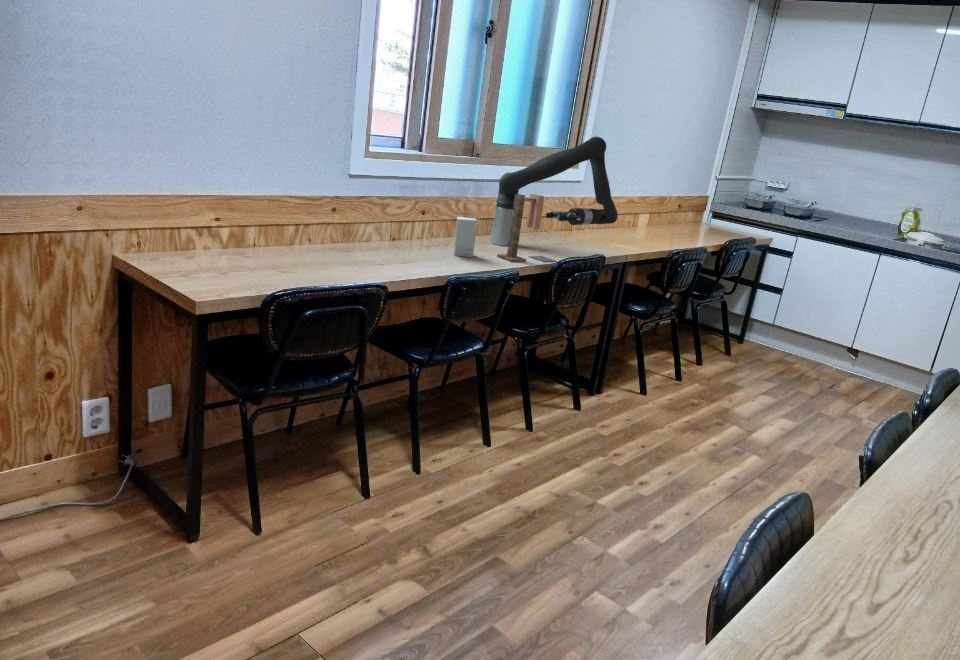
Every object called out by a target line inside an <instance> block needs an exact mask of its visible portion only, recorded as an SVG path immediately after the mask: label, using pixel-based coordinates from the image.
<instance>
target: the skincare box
mask: <svg viewBox="0 0 960 660" xmlns="http://www.w3.org/2000/svg"><path fill="white" fill-rule="evenodd" d="M477 222H478V220H477V218H473V217H472V218H471V217H462V216H457V218H456V226H455V238H454V249H453V255H454V257H455V256H457V257H466V258H467V257H468V258H474V250H475V242H476V233H477Z"/></svg>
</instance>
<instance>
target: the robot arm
mask: <svg viewBox="0 0 960 660" xmlns="http://www.w3.org/2000/svg"><path fill="white" fill-rule="evenodd" d="M606 151H607V143H606V140H604V139H603V138H602V137H600V136H593V137H591V138H589V139H588V140H586V141H585V142H583V143H579V144H578V145H576V146H575V147H574V146H573V147H571V148H568V149H565V150H561V151H558V152H555V153H551V154H550V155H547V156H545V157H542V158H540V159H539V160H537V161H535V162H533V163H532V164H530V165H528V166H526V167H525V168H522V169H519V170H516V171H513V172H506V173H504V174H503V175H502V176H501V177H500V178H499V181H498V193H497V198H496V199H497V200H496V205H495V206H496V207H495V212H494V214H495V215H494V220H493V222H492V227H491V234H490V242H491V244H494V245H498V246H503V247H504V246H507V247H508V243H509V236H510V229H511V221H512V214H513V207H514V200H515V194H519V191H520V189H522V188H524V187H526V186H528V185H531V184H533V183H536V182H539V181H543V180H546V179H549V178H552V177H553V176H557V175H559V174H561V173H563V172H565V171H567V170H569V169H571V168H572V167H574V166H576V165H578V164H580V163H583V162H587V161H589V162H590V167H591V171H592V172H591V174H592V179H593V180H592V181H593V182H592V183H593V188H594V196H595V201H596V203H597V204H598V205H601V206H602V207H603V208H585V207H583V208H582V207H573V208H570V209H569V210H568V211H550V212H546V213H545V218H546V219H557V220H558V222H566V223H569V225H572V226H586V225H608V224H614V223H616V222H617V220H618V210H617V208H616V205H615V203H614V200H613V199H612V193H611V188H610V182H609V178H608V173H607V169H606V162H605V161H606V158H605V154H606V153H605V152H606Z"/></svg>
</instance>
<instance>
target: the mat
mask: <svg viewBox="0 0 960 660" xmlns="http://www.w3.org/2000/svg"><path fill="white" fill-rule="evenodd" d="M527 257H528V258H531V259H532V260H535V261H539V262H542V263H557V262H558V261H557V260H555V259H553V258H550V257H546V256H544V255H529V256H527Z"/></svg>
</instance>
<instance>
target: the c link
mask: <svg viewBox="0 0 960 660" xmlns="http://www.w3.org/2000/svg"><path fill="white" fill-rule="evenodd" d="M529 198H533V199H536V202H529V203H528V209H527V214H526V215H527V216H526V224H525V227H526V228H531V229H532V230H540V228H541V224H542V223H541V222H542V221H541V220H542V217H543V216H542V215H543V209H544V208H543V207H544V202H545V195H540V194H535V193H532V194H529Z"/></svg>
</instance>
